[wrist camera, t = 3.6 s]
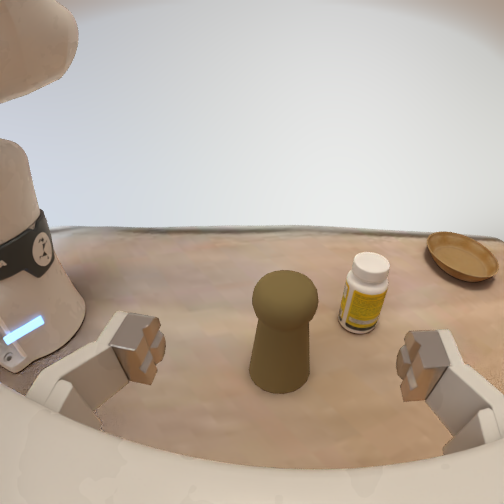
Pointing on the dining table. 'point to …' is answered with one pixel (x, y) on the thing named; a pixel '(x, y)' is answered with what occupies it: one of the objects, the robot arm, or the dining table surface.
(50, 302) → the robot arm
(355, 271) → the supplement bottle
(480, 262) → the plant saucer
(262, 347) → the pepper shaker
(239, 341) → the dining table surface
